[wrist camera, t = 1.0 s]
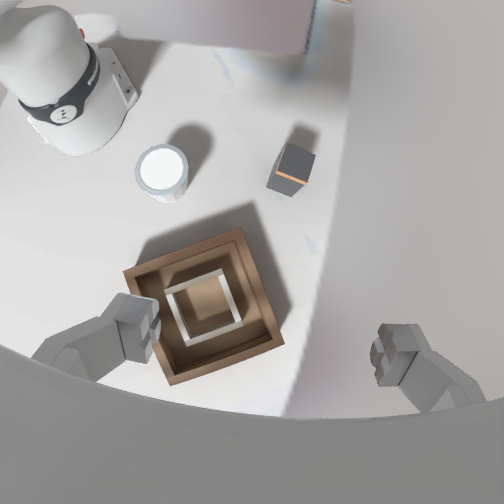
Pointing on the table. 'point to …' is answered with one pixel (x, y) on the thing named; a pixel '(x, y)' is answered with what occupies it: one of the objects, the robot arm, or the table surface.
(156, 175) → the white cup
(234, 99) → the table surface
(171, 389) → the table surface
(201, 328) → the walnut box
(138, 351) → the robot arm
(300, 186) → the dark grey banded block
